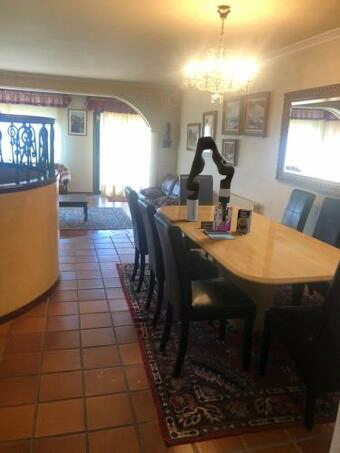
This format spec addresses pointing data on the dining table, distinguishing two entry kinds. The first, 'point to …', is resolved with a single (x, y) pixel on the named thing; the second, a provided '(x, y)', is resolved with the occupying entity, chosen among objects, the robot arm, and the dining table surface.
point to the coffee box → (244, 220)
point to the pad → (221, 237)
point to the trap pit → (215, 232)
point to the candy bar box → (218, 223)
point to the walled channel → (207, 225)
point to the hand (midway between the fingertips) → (222, 220)
